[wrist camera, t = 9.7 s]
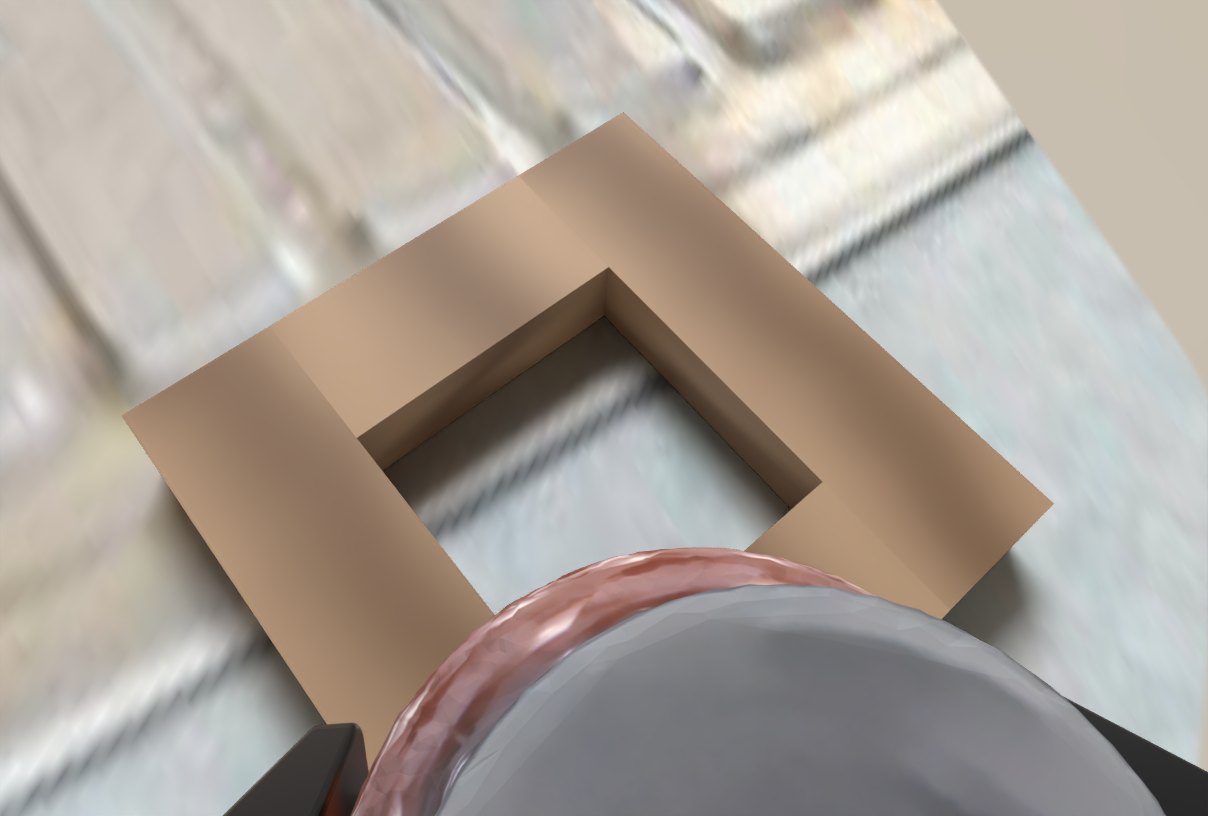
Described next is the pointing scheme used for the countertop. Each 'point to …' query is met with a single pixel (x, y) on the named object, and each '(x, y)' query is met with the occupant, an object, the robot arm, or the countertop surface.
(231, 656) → the countertop surface
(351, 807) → the robot arm
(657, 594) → the supplement bottle
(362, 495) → the square wooden frame
